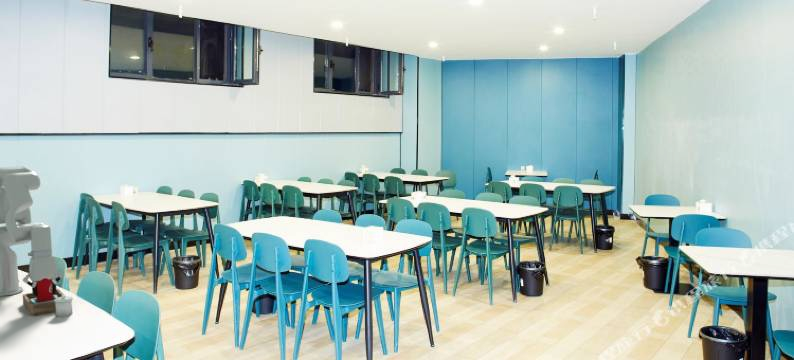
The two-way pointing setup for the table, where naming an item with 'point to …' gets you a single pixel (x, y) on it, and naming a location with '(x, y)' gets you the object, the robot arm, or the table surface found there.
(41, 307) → the caddy
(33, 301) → the socket
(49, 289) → the beverage can
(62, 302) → the sugar pot
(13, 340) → the table surface
